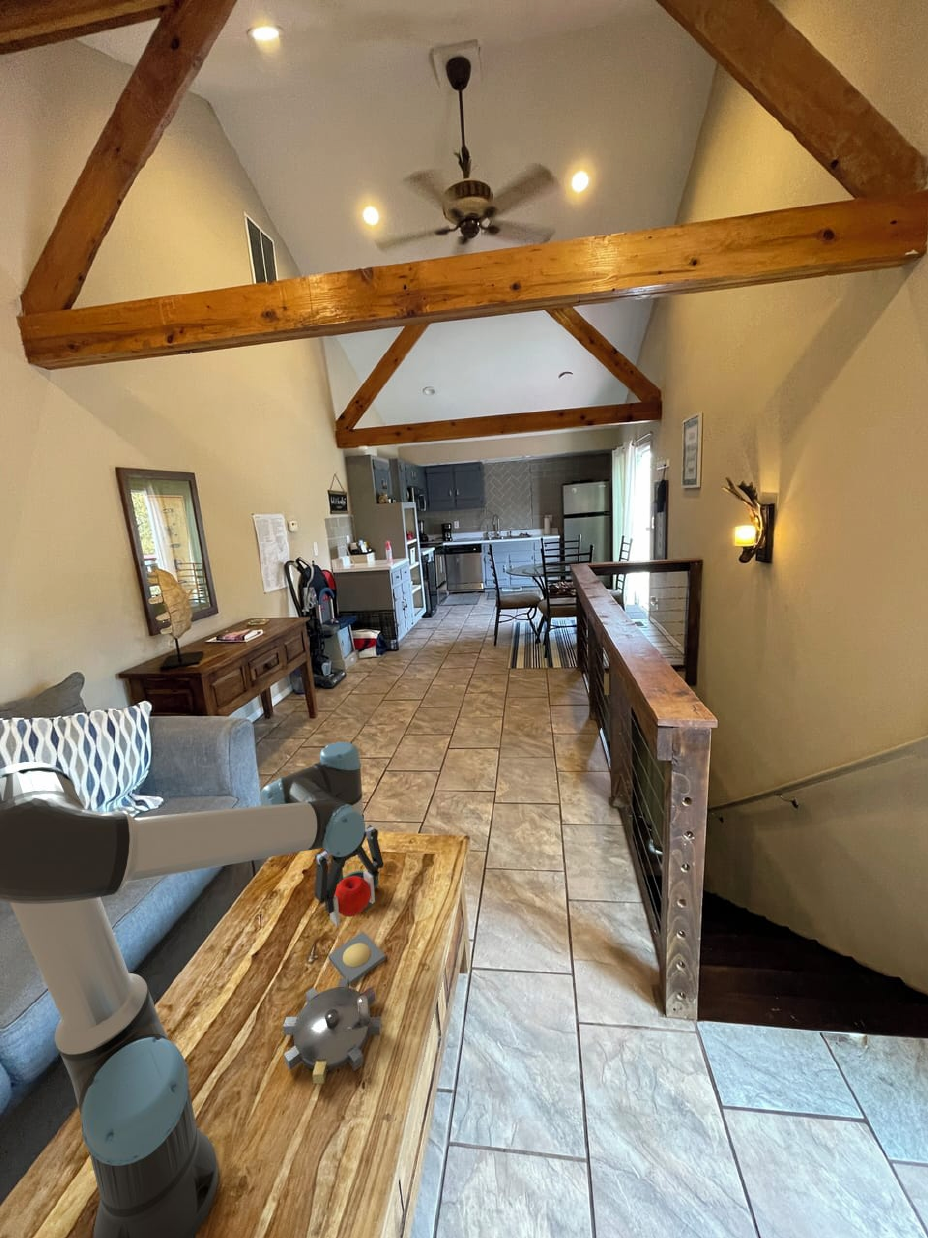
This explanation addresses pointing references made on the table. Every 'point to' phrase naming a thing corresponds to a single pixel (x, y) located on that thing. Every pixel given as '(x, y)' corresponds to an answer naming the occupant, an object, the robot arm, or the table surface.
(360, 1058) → the sprocket
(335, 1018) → the hub
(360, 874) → the bracket
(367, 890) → the apple
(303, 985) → the table surface
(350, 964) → the seat
